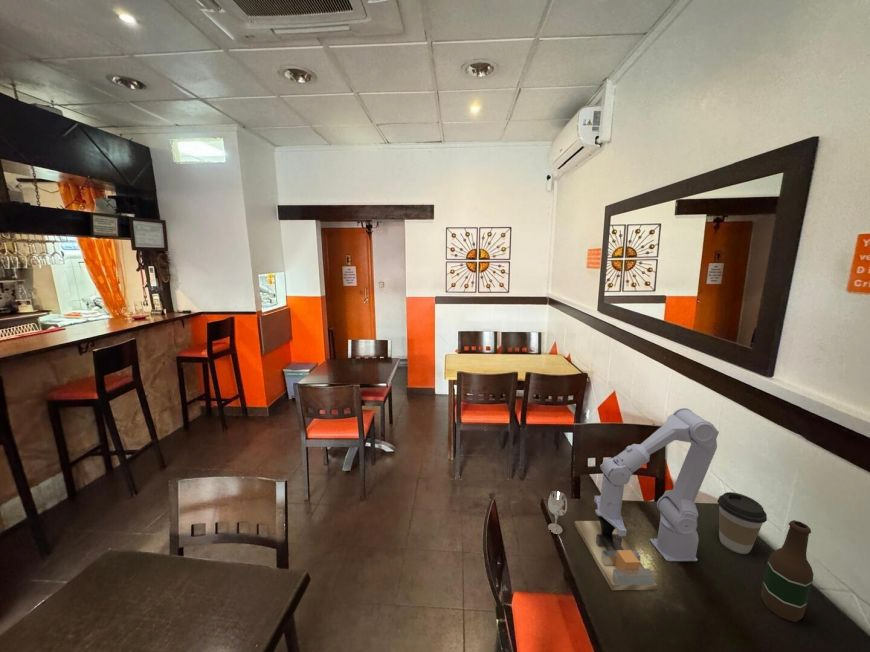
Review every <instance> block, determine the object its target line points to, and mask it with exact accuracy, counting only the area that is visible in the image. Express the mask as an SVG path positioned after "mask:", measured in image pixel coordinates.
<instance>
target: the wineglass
mask: <svg viewBox="0 0 870 652" xmlns="http://www.w3.org/2000/svg"><path fill="white" fill-rule="evenodd" d="M547 508H548V510H549V511H550V513H551V514H553V515H554V523H553V522H552V523H549V524H548V526H547V528H548V530H549V531H550V530H551V531H550V532H551V533H553V534H557V535H560V534H562V533H563V528H562V526H561V525H559V524H557V521H558V518H559V517H560V516H563V515H565V514H566V512H567V509H568V501H567V496H566V495H565V493H564V492H561V491H559V490H553V491H551V492H550V495H549V497H548V501H547Z"/></svg>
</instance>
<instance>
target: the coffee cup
mask: <svg viewBox="0 0 870 652" xmlns="http://www.w3.org/2000/svg"><path fill="white" fill-rule="evenodd" d="M716 501H717V504H718V507H719V508H718V509H719V512H718V514H719V515H718V516H719V518H718V519H719V521H718V536H719V541H720V542H721V544H722V546H724V547H725V548H726V549H728V550H730V551H732V552H734V553H738V554H740V555H747V554H749V553H750V552H751V551H752V549H753V547H754V544H755V542H756V539H757V537H758V535H759V534H760V531H761V528H762V526H763V524H765V522H767V521H768V516H767V515H768V514H767V513H766V512H765V510H764V507H763V506H762V505H761V504H760V503H759V502H758V501H756V500H755V499H753V498H752V497H750V496H748V495H744V494H741V493H737V492H732V491H729V492H724V493H723V494H722V495H720V496H718V498H717V500H716Z"/></svg>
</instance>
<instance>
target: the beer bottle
mask: <svg viewBox="0 0 870 652" xmlns="http://www.w3.org/2000/svg"><path fill="white" fill-rule="evenodd" d="M788 525H789V529H788V531H787V533H786V537H785V540H784V542H783V544H782V546H781V547H780V548H778V549H775V550H773V551H772V553H771V554H769V557H768V559H767V563H766V567H765V572H764V577H763V581H762V586H761V590H760V598H761V600H762V602H763V604H764V606H765V607H766V608H767V609H768V610H769V611H771V612H772V613H773V614H775V615H776V616H778V617H779V618H781V619H784V620H786V621H789V622H793V623H797V622H798V621H800V620H801V619H803V618H804V615H805V613H806V609H807V605H808V602H809V597H810V594H811V589H812V586H813V582H814V571H813V567H812V566H811V564H810V562H809V561H808V559H807V558H808V557H807V552H808V551H807V550H808V544H809V543H808V542H809V535H810V534H811V533H812V530H811V528H810V527H809V526H808V525H807V524H806V523H804V522H801V521H799V520H795V519H794V520H791V521H789V522H788Z"/></svg>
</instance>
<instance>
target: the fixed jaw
mask: <svg viewBox="0 0 870 652" xmlns="http://www.w3.org/2000/svg"><path fill="white" fill-rule="evenodd" d="M655 576H656V575H655V573H654V572H653V571H652V569H651V568H645V569H613V576H612V579H613V581H614V582H615V584H616V585H653V584H654V582H655Z"/></svg>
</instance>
